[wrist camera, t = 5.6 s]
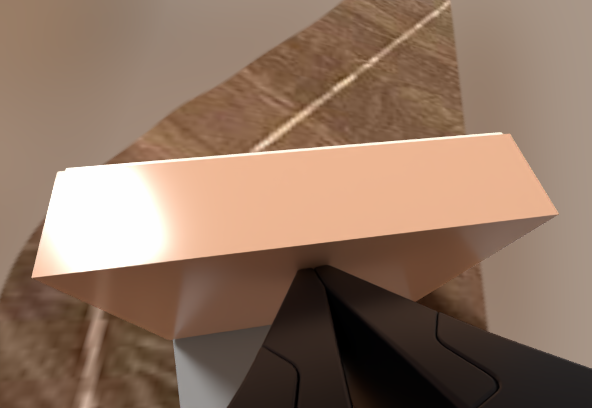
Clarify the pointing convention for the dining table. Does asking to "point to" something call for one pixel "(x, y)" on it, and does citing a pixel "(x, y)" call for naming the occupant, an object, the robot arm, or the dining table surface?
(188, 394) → the mat
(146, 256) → the peach rectangular block
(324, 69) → the dining table surface
